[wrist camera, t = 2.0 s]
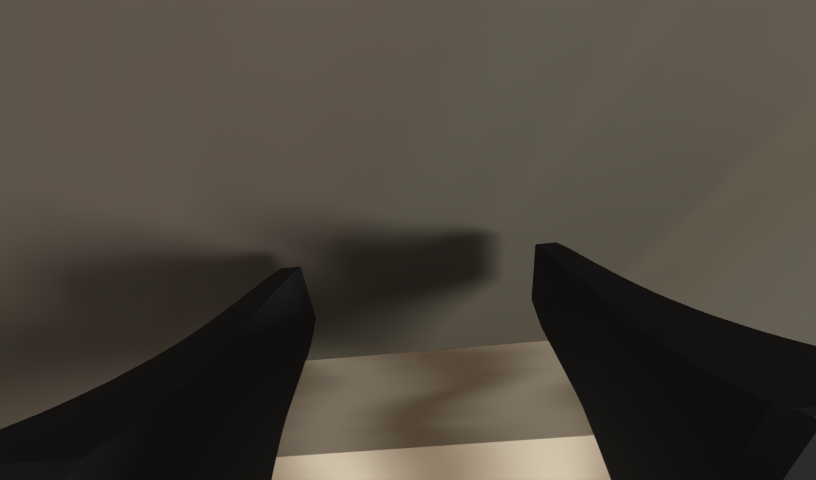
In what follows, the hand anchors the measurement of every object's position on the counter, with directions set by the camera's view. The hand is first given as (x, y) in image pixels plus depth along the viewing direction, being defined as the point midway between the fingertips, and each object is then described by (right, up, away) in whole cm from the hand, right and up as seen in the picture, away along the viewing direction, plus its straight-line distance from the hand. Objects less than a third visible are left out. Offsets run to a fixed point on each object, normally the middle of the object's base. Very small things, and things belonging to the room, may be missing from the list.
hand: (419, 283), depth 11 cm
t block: (+1, -8, +6) cm, 11 cm away
